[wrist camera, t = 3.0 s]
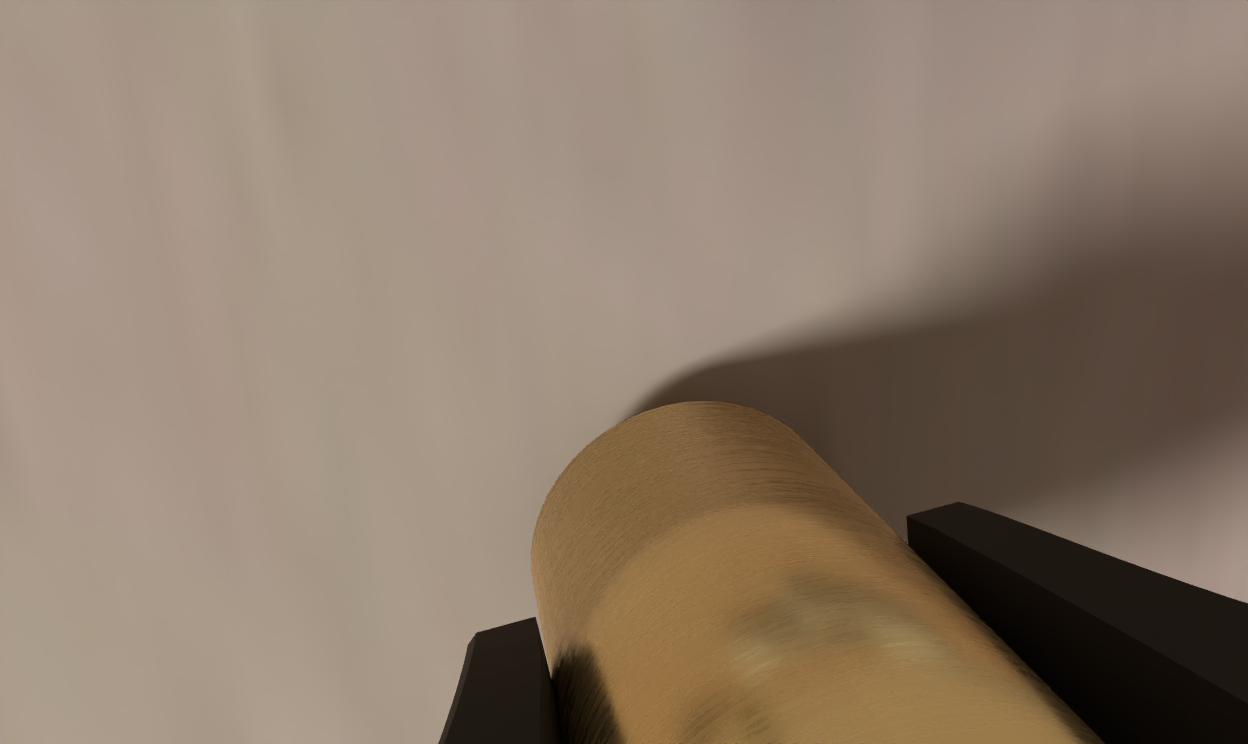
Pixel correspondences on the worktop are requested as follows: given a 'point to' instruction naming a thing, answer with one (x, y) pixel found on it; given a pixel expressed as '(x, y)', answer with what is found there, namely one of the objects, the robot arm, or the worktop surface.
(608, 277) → the worktop surface
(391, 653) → the worktop surface
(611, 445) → the gold metal cylinder
